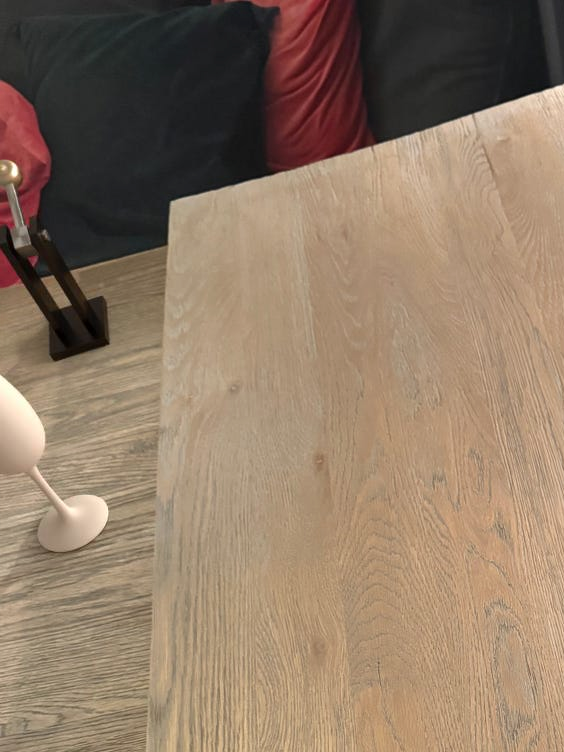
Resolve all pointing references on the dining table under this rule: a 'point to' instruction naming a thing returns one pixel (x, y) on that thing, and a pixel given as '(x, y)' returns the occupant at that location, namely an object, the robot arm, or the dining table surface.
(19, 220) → the lever
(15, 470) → the wineglass
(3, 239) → the bracket
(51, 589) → the dining table surface
